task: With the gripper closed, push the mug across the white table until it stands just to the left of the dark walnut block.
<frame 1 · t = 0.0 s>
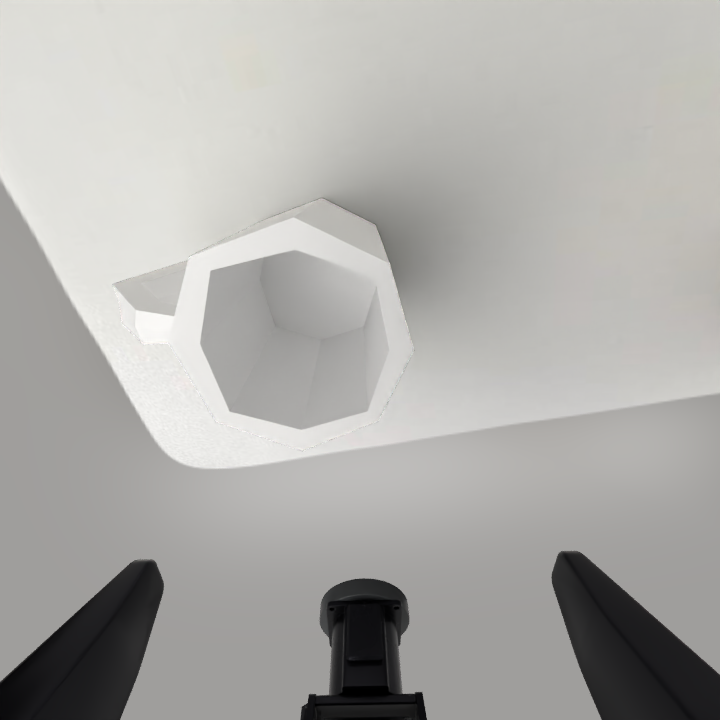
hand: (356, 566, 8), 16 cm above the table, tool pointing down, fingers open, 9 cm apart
mug: (286, 277, 22), on the table
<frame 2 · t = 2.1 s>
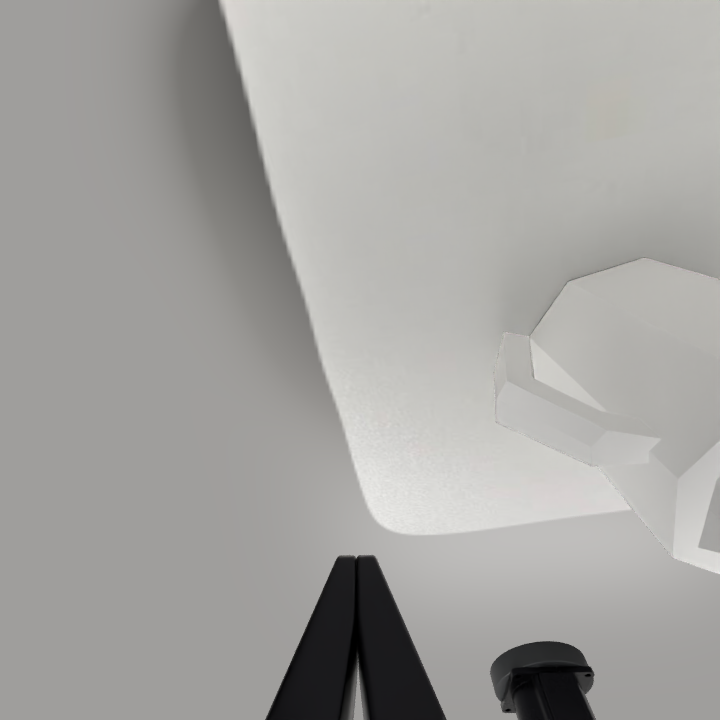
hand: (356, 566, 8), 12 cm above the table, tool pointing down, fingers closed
mug: (570, 340, 19), on the table
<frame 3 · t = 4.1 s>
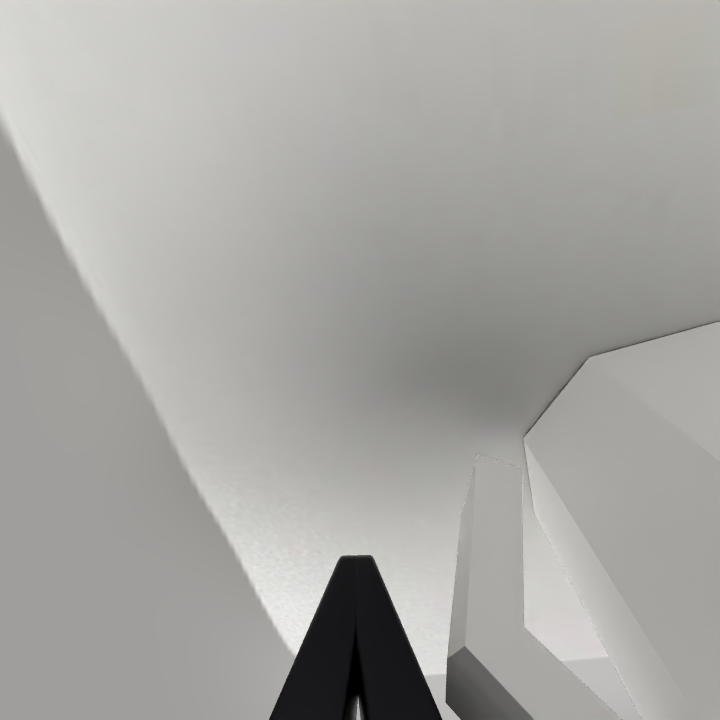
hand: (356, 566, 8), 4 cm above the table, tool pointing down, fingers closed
mug: (590, 441, 12), on the table, touching gripper
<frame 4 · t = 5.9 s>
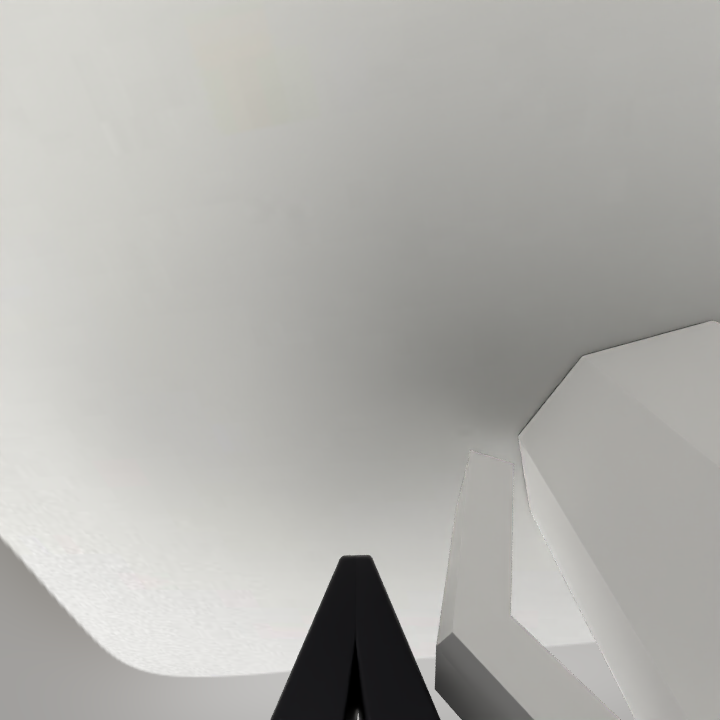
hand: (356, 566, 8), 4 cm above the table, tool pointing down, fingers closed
mug: (584, 440, 12), on the table, touching gripper
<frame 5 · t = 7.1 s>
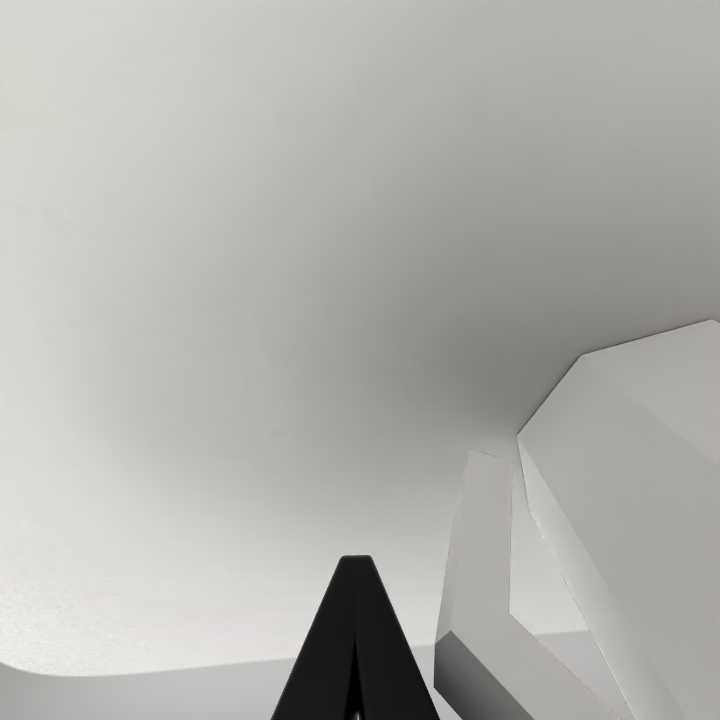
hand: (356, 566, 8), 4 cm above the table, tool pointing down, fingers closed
mug: (583, 439, 12), on the table, touching gripper
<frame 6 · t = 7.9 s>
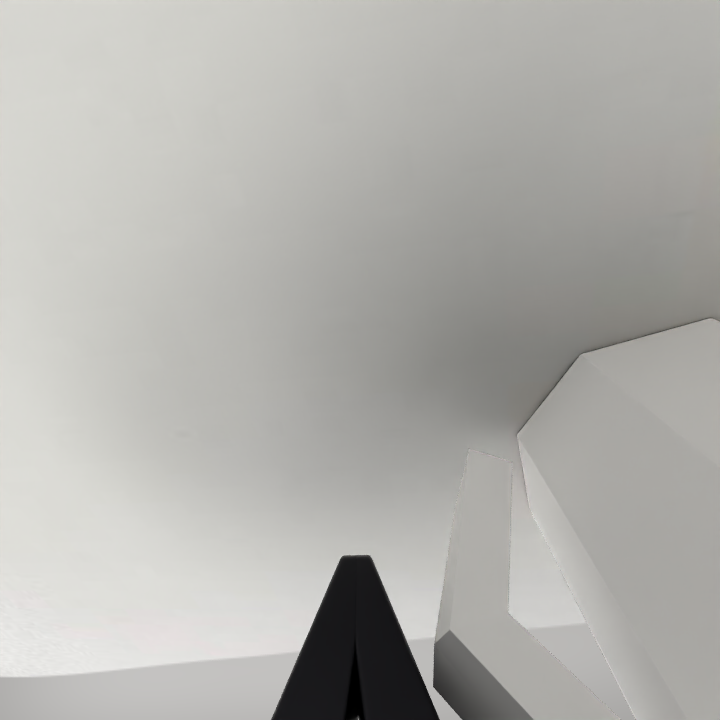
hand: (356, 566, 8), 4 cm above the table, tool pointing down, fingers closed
mug: (583, 438, 12), on the table, touching gripper
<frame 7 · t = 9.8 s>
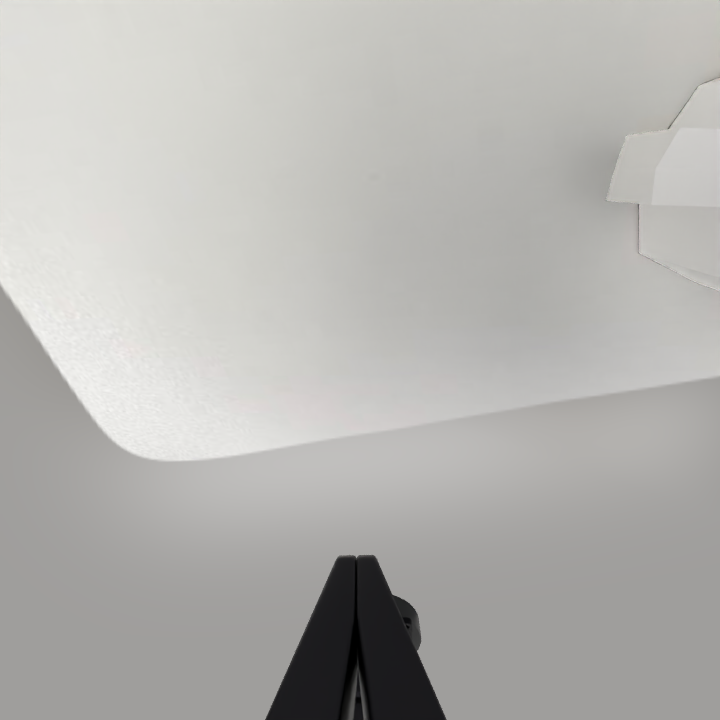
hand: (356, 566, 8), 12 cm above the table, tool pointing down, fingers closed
mug: (689, 178, 16), on the table
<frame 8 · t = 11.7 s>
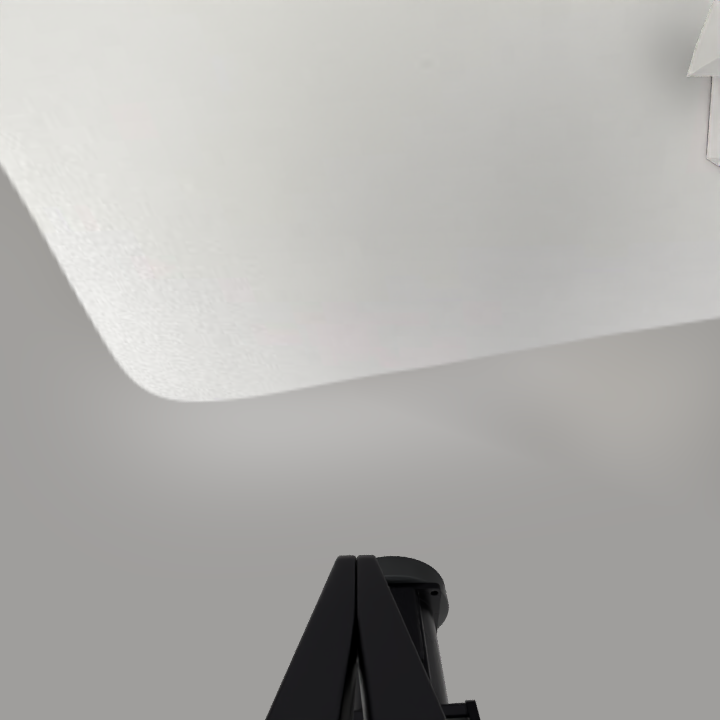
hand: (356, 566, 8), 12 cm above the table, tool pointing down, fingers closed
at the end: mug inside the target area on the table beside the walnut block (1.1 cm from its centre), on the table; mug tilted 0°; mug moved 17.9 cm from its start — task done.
